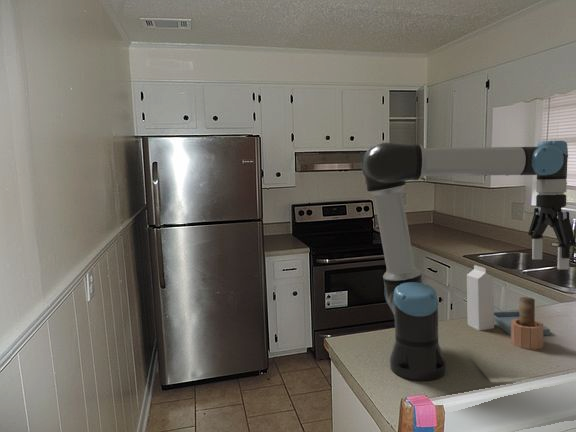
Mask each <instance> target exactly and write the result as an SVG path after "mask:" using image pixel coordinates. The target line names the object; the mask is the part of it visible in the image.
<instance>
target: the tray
mask: <svg viewBox="0 0 576 432" xmlns="http://www.w3.org/2000/svg"><path fill="white" fill-rule="evenodd" d="M516 318H519V310H504V311H502V310H499V311H494V324H496V325H497V326H499V328H500V329H502V330H503V331H504V332H506V333H507V335H509V336H510V337H511V321H512V320H513V319H516ZM550 335H551V329H550V328H548V326H545V325H544V324H543V336H550Z"/></svg>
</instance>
